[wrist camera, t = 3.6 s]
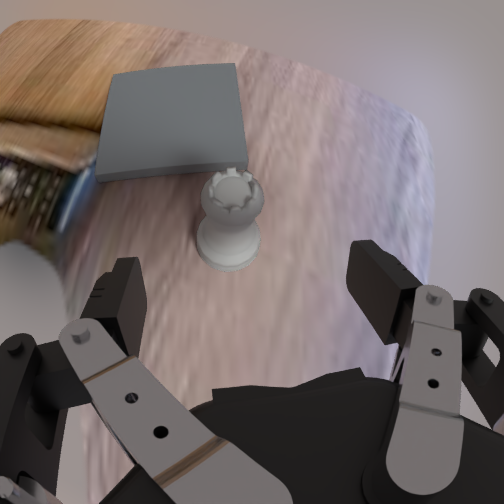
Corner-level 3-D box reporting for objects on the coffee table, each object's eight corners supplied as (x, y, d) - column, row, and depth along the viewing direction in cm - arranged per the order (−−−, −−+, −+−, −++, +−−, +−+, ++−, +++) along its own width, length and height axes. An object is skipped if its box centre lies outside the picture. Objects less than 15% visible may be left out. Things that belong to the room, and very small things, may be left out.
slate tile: (98, 182, 24) (94, 175, 23) (115, 82, 27) (113, 74, 26) (247, 169, 25) (248, 161, 24) (234, 71, 29) (235, 63, 28)
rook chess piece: (261, 218, 24) (281, 156, 16) (256, 277, 23) (276, 236, 15) (201, 211, 24) (195, 146, 16) (192, 269, 22) (179, 224, 15)
